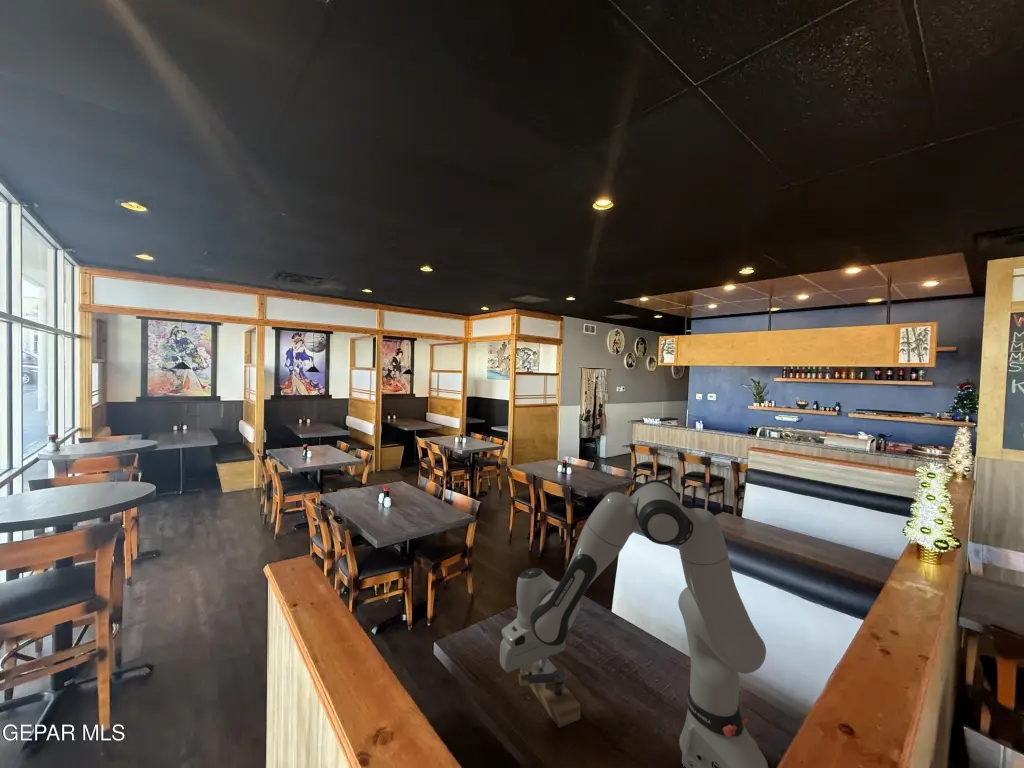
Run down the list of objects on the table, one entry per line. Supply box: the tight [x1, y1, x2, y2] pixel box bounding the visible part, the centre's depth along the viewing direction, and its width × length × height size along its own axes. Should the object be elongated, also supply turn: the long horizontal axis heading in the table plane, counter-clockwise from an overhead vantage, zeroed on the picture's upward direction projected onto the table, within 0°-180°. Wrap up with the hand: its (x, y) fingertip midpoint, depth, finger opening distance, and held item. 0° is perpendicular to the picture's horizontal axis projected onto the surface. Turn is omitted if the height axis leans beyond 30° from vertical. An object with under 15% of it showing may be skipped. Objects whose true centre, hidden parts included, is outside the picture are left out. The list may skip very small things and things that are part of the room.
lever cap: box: [531, 657, 558, 688], centre depth 123 cm, size 8×5×3 cm, turn 27°
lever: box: [517, 669, 566, 687], centre depth 116 cm, size 13×4×2 cm, turn 99°
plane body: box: [519, 663, 582, 729], centre depth 122 cm, size 22×7×8 cm, turn 27°
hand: (534, 674), depth 118 cm, fingers open, 2 cm apart
